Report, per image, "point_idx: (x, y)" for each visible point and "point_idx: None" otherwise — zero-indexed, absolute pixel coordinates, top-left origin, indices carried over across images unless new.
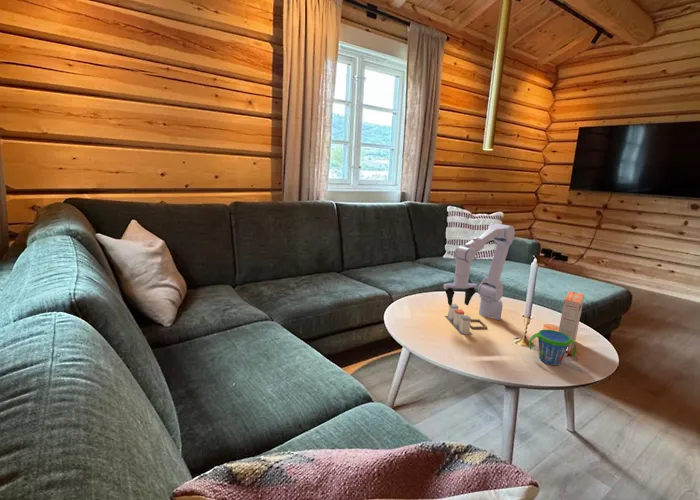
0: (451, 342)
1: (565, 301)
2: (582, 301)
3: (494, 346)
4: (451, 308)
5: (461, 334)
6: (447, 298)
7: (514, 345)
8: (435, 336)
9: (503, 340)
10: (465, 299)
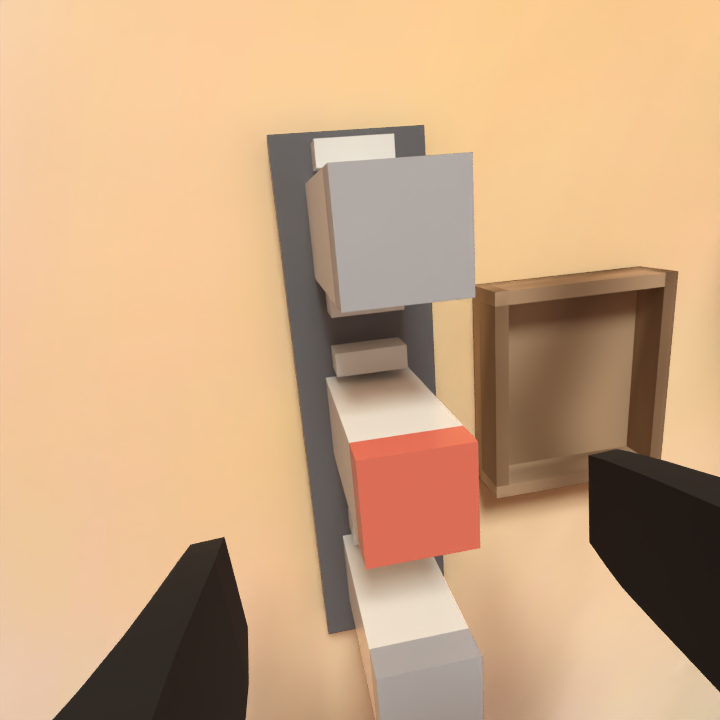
0: None
1: None
2: None
3: (548, 696)
4: (333, 295)
5: (333, 627)
6: (121, 642)
7: None
8: (63, 642)
9: None
10: (668, 521)
